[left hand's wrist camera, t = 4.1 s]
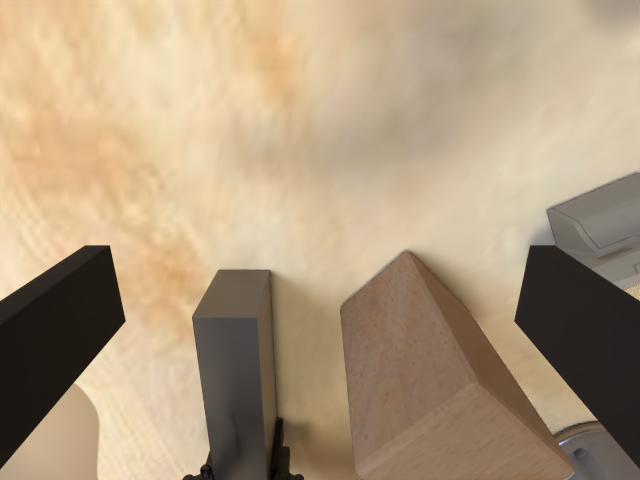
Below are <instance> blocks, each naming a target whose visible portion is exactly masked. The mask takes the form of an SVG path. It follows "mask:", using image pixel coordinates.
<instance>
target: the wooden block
mask: <svg viewBox="0 0 640 480" xmlns="http://www.w3.org/2000/svg"><path fill="white" fill-rule="evenodd" d="M340 314H341V325H342V336H343V347H344V358H345V368H346V379H347V390H348V401H349V412H350V423H351V434H352V444H353V455H354V466H355V470H356V473H357V474H358V476H359V477H360V478H362V479H363V480H563V479H565V478H567V477H569V476H570V475H571V474H572V473H573V472H574V470H573V466H572V463H571V461H570V460H569V458H568V457H567V455H566V454H565V452H564V451H563V449H562V448H561V447H560V445H559V444H558V442H557V441H556V439H555V438H554V436H553V435H552V433H551V432H550V430H549V429H548V427H547V426H546V424H545V423H544V421H543V420H542V418H541V417H540V416H539V414H538V413H537V411H536V410H535V408H534V407H533V405H532V404H531V402H530V401H529V399H528V398H527V396H526V395H525V393H524V392H523V390H522V389H521V387H520V386H519V385H518V383H517V382H516V380H515V379H514V377H513V376H512V374H511V373H510V371H509V370H508V368H507V367H506V365H505V364H504V362H503V361H502V359H501V358H500V356H499V355H498V354H497V352H496V351H495V349H494V348H493V346H492V345H491V343H490V342H489V340H488V339H487V337H486V336H485V334H484V333H483V331H482V330H481V328H480V327H479V326H478V324H477V323H476V321H475V320H474V318H473V317H472V315H471V314H470V312H469V311H468V309H467V308H466V306H465V305H464V304H463V303H462V302H461V301H460V300H459V299H458V298H457V297H456V296H455V295H454V294H453V293H452V292H451V291H450V290H448V289H447V288H446V287H445V286H444V285H443V284H442V283H441V282H440V281H439V280H438V279H437V278H436V277H435V276H434V275H433V274H432V273H431V272H430V271H429V270H428V269H427V268H426V267H425V266H424V265H423V264H422V263H421V262H420V261H419V260H418V259H417V258H416V257H415V256H414V255H413V254H412V253H411V252H408V251H406V252H404V253H403V254H402V255H400V256H399V257H398V258H397V259H396V260H395V261H394V262H392V263H391V264H390V265H389V266H388V267H387V268H386V269H384V270H383V271H382V272H381V273H380V274H379V275H378V276H376V277H375V278H374V279H373V280H372V281H371V282H370V283H368V284H367V285H366V286H365V287H364V288H363V289H362V290H360V291H359V292H358V293H357V294H356V295H355V296H353V297H352V298H351V299H350V300H349V301H348V302H347V303H345V304H344V305H343V306H342V307H341V309H340Z"/></svg>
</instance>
